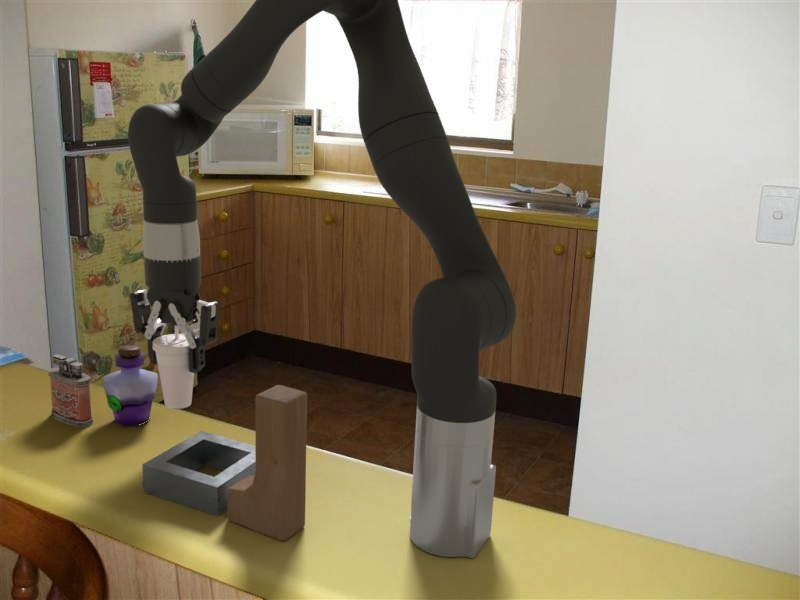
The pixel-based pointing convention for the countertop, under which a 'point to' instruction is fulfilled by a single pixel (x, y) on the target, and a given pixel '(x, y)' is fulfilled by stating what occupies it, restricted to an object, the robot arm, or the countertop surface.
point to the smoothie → (174, 369)
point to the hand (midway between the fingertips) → (176, 366)
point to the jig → (185, 486)
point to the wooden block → (275, 467)
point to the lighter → (70, 392)
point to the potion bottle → (130, 388)
